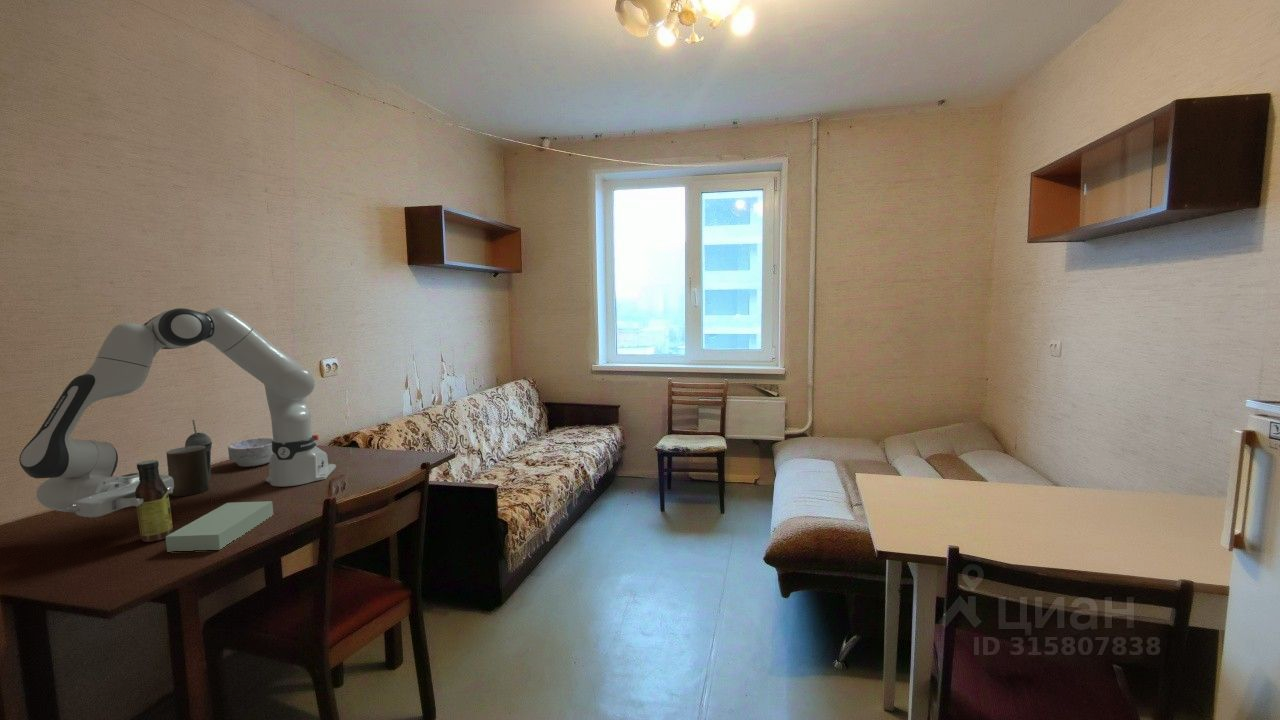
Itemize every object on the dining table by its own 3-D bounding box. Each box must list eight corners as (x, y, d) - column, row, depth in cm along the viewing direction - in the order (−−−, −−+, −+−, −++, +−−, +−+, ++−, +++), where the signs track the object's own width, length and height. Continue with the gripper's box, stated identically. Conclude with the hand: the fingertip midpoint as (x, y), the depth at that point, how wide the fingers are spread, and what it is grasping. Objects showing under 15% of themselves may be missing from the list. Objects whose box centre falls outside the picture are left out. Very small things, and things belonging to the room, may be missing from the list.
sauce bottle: (178, 535, 141) (170, 460, 138) (148, 545, 135) (140, 467, 133) (164, 531, 143) (156, 457, 141) (135, 540, 138) (126, 463, 136)
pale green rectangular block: (228, 516, 153) (227, 502, 152) (273, 514, 154) (272, 501, 153) (167, 552, 131) (165, 536, 131) (220, 550, 132) (218, 534, 131)
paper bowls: (255, 470, 195) (254, 448, 194) (218, 468, 197) (216, 447, 196) (289, 458, 210) (287, 437, 209) (254, 456, 212) (253, 436, 211)
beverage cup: (200, 481, 183) (194, 423, 181) (182, 480, 184) (176, 422, 182) (220, 474, 190) (215, 418, 188) (203, 473, 191) (198, 417, 189)
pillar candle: (208, 492, 172) (204, 445, 171) (167, 499, 167) (163, 450, 165) (210, 484, 180) (206, 440, 179) (172, 490, 175) (167, 444, 173)
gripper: (57, 497, 129) (111, 499, 127) (144, 470, 149) (190, 471, 148) (61, 523, 129) (114, 525, 128) (146, 492, 150) (193, 494, 148)
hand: (155, 496), depth 138 cm, fingers closed on sauce bottle, 6 cm apart
